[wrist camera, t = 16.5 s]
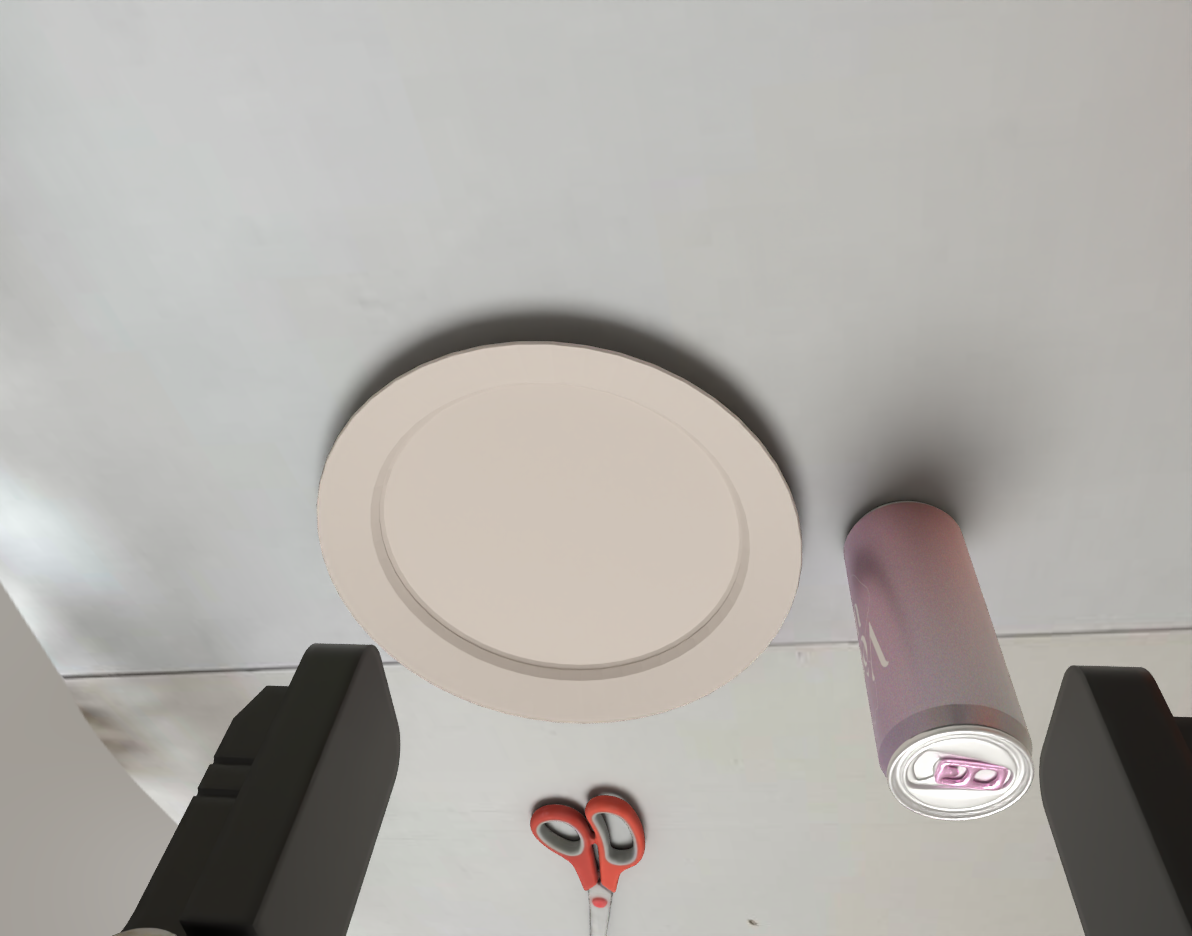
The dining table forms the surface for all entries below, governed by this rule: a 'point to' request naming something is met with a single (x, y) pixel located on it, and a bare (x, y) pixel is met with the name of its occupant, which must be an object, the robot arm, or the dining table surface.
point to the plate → (559, 532)
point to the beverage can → (934, 667)
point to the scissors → (583, 851)
